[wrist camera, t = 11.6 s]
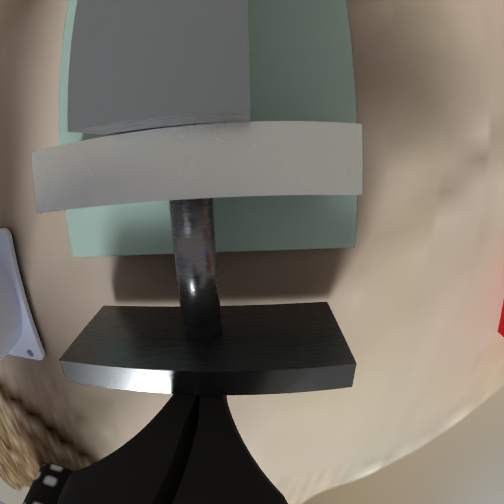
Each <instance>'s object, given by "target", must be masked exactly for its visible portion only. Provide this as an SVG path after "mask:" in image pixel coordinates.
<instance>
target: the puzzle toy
mask: <svg viewBox="0 0 504 504" xmlns="http://www.w3.org/2000/svg"><path fill="white" fill-rule="evenodd" d="M498 332H499V333H500V334H501V335H502V336H503V337H504V301H503V307H502V313H501V318H500V323H499V328H498Z"/></svg>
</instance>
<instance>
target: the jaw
mask: <svg viewBox="0 0 504 504" xmlns="http://www.w3.org/2000/svg"><path fill="white" fill-rule="evenodd" d="M31 160H32V174H33V185H34V194H35V202H36V210H37V213H44V212H52V211H60V210H68V209H77V208H87V207H96V206H106V205H117V204H128V203H140V202H153V201H167V200H169V209H170V220H171V231H172V241H173V250H174V259H175V268H176V276H177V284H178V292H179V299H180V306H181V307H148V306H103V307H102V308H101V309H100V311H99V312H98V313H97V314H96V315H95V316H94V318H93V319H92V320H91V321H90V322H89V324H88V325H87V326H86V327H85V328H84V330H83V331H82V332H81V333H80V334H79V336H78V337H77V338H76V339H75V341H74V342H73V343H72V344H71V346H70V347H69V348H68V349H67V351H66V352H65V353H64V354H63V356H62V357H61V358H60V359H59V362H60V365H61V367H62V369H63V372H64V374H65V377H66V379H67V381H68V382H71V383H77V384H84V385H90V386H97V387H105V388H113V389H122V390H131V391H142V392H155V393H170V394H192V395H258V394H280V393H295V392H308V391H319V390H329V389H338V388H346V387H352V384H353V379H354V374H355V368H356V362H355V359H354V357H353V355H352V353H351V351H350V349H349V346H348V344H347V342H346V340H345V338H344V336H343V334H342V332H341V330H340V328H339V325H338V323H337V321H336V319H335V317H334V315H333V313H332V311H331V309H330V307H329V305H328V303H327V302H313V303H294V304H272V305H244V306H220V298H219V285H218V272H217V259H216V244H215V229H214V213H213V198H219V197H242V196H275V195H362V176H363V150H362V124H357V123H340V122H316V121H253V122H229V123H212V124H199V125H187V126H177V127H168V128H159V129H151V130H143V131H136V132H129V133H123V134H116V135H110V136H105V137H99V138H94V139H88V140H83V141H78V142H74V143H69V144H64V145H60V146H56V147H51V148H47V149H43V150H39V151H35V152H31Z"/></svg>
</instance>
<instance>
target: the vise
mask: <svg viewBox="0 0 504 504" xmlns="http://www.w3.org/2000/svg"><path fill="white" fill-rule="evenodd" d="M76 5H77V0H69V1H68V6H67V13H66V19H65V26H64V34H63V43H62V53H61V66H60V83H59V143H60V145H64V144H69V143H74V142H78V141H83V140H88V139H94V138H99V137H105V136H110V135H105V134H92V133H77V132H68V126H67V106H68V77H69V62H70V50H71V40H72V32H73V24H74V17H75V11H76ZM248 31H249V67H250V105H251V115H250V122H253V121H316V122H340V123H357V115H356V95H355V79H354V66H353V55H352V45H351V35H350V27H349V19H348V11H347V4H346V0H248ZM65 212H66V219H67V226H68V232H69V238H70V244H71V250H72V255H73V257H93V256H122V255H151V254H174V250H173V241H172V231H171V220H170V209H169V200H167V201H153V202H140V203H128V204H117V205H106V206H96V207H87V208H77V209H68V210H65ZM213 213H214V229H215V244H216V252H238V251H268V250H297V249H327V248H355V236H356V215H357V195H275V196H242V197H219V198H213Z"/></svg>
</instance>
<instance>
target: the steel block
mask: <svg viewBox="0 0 504 504" xmlns="http://www.w3.org/2000/svg"><path fill="white" fill-rule="evenodd" d="M250 115H251V105H250V67H249V31H248V0H77V5H76V11H75V17H74V24H73V32H72V40H71V50H70V62H69V77H68V106H67V126H68V132H77V133H92V134H105V135H116V134H123V133H129V132H136V131H143V130H151V129H159V128H168V127H177V126H187V125H199V124H212V123H229V122H250Z"/></svg>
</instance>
